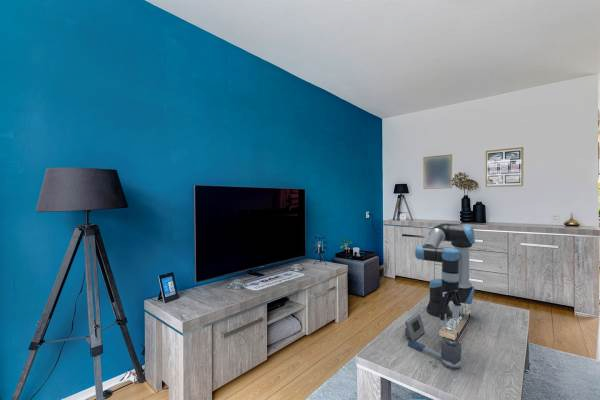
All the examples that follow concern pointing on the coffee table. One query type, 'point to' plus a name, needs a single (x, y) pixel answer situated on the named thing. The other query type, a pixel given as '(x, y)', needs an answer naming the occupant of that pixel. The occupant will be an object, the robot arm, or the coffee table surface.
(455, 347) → the socket
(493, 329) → the coffee table surface
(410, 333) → the digital clock
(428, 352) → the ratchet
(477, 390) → the coffee table surface
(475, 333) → the coffee table surface
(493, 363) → the coffee table surface
